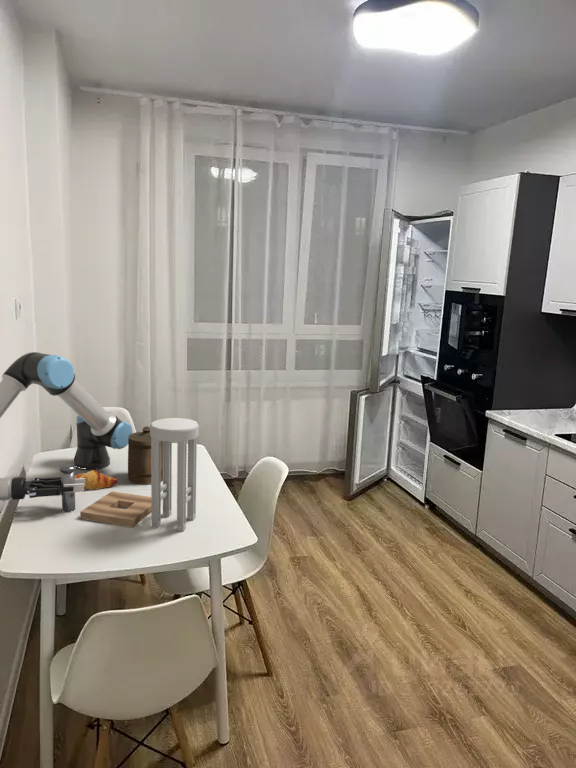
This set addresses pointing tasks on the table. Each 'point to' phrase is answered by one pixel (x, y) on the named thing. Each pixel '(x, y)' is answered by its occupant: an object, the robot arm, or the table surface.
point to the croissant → (96, 480)
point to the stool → (169, 433)
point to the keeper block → (112, 514)
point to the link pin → (68, 478)
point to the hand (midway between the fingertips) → (84, 484)
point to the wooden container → (141, 457)
